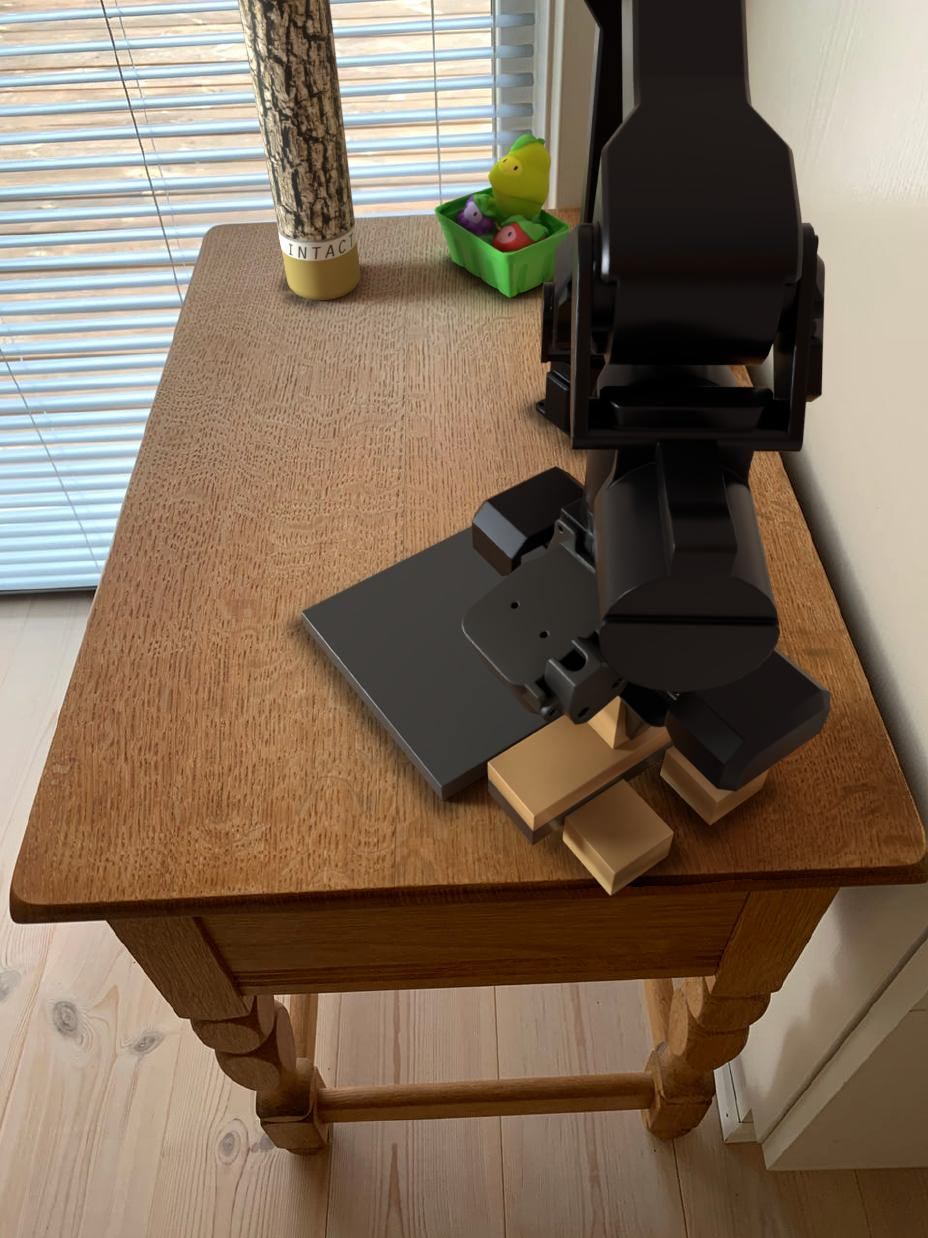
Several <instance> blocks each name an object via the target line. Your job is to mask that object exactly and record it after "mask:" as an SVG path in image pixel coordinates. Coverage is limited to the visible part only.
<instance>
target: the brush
mask: <svg viewBox="0 0 928 1238" xmlns="http://www.w3.org/2000/svg"><path fill="white" fill-rule="evenodd" d="M626 711H627V705H626V704H625V703H624V702H623V701H622V700H621V699H620V698H619V697H618V696H617V697H616V698H615V699H614V700H612V701H611V702H610V703H609V704H608V705H607V706H605V707H604V708H603V709H602V710H601V711H600V712H599V713H597V714H596V715H595V716H594V717H593V718H592V719H590V720H589V721H588V722H586V723H583V724H579V725H575V724H574V723H573V722H572V721H571V720H570V719H569V718H568V717H567V716H566V715H564V716H562V717H560V718H559V719H557V720H556V721H554V722H552V723H551V724H549V725H547V726H546V727H544V728H543V729H541V730H539V731H538V732H536V733H534V734H533V735H531V736H530V737H528V738H526V739H525V740H523V741H521V742H520V743H518V744H517V745H515V746H513V747H512V748H510V749H508V750H507V751H505V752H504V753H502V754H500V755H499V756H497V757H495V758H494V759H492V760H491V761H489V762H488V774H487V786H488V787H487V789H488V790H487V792H488V793H489V795H490V796H491V798H492V799H494V801H495V802H496V803H497V804H498V805H499V807H500V808H501V809H502V810H503V812H504V813H505V814H506V815H507V817H508V818H509V819H510V820H511V821H512V823H513V824H514V825H515V826H516V828H517V829H518V830H519V831H520V832H521V834H522V835H523V836H525V838H526V839H527V841H528V842H529V843H530V845H532V846H535V845H537V844H538V843H539V842H540V841H542V840H544V839H545V838H547V837H548V836H549V835H552V834H553V833H555V832H556V831H557V830H559V829H560V828H561V827H564V822H565V816H567V815H569V814H570V813H572V812H573V811H575V810H576V809H578V808H579V807H581V806H582V805H584V804H585V803H587V802H588V801H590V800H591V799H593V798H594V797H596V796H597V795H599V794H600V793H602V792H603V791H605V790H606V789H608V788H609V787H611V786H612V785H614V784H616V783H617V782H619V781H620V780H622V779H624V780H625V781H626V782H627V783H628V784H629V782H631V781H632V780H634V779H635V778H637V777H638V776H640V775H641V774H643V773H645V772H646V771H647V770H648V769H650V768H652V767H653V766H655V765H656V764H657V763H659V762H661V761H663V759H664V755H665V751H666V750H667V749H668V748H670V747H671V746H673V743H672V740H671V738H670V736H669V734H668V731H667V729H666V727H652V726H651V727H650V728H649V729H648V730H647V731H645V732H644V733H643V734H641V735H640V736H638V737H636V738H635V739H633V740H630V739H629V738H628V737H627V736H626V727H625V720H626Z"/></svg>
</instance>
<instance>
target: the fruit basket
mask: <svg viewBox="0 0 928 1238" xmlns="http://www.w3.org/2000/svg"><path fill="white" fill-rule="evenodd" d="M545 144H546V140H545V139H544V138H542V137H538V138H537V137H535V136H534V135H533V134H530V133H525V134H523V135H521V136H519V137H518V138H517V139H516V140H515V142H514V143H513V144H512V147H510V148H509V152H508V154H505V155H504V156H502V157H501V158H500V159H499V160H498V161H496V162H495V164H494V165H493V166H492V168H491V169H490V171H489V174H488V176H487V178H488V181H489V183H490V186H491V187H487V188H484V189H482V190H479V191H474V192H472V193H469V194H466V195H464V196H461V197H457V198H455V199H452V200H450V201H446V202H444V203H442V204H439V205H438V206H436V207H435V208H434V213H435V216H436V218H437V221H438V223H440V225H441V229H442V232H443V236H444V238H445V242H446V245H447V248H448V250H449V254H450V258H451V260H452V262H454V263H456V264H457V265H459V266H460V267H462V268H465V269H466V270H467V271H468V272H469V273H471V274H472V275H474V276H475V277H477V278H481V280H482V281H483V282H484V283H486V284H487V285H489V286H491V287H492V288H495V289H497V290H498V291H499V292H500V293H501V294H503V295H504V296H506V297H507V298H513V297H515V296H516V295H518V294H521V293H524V292H527V291H529V290H532V289H533V288H536V287H538V286H540V285H541V284H543V282H551V281H553V271H554V255H555V249H556V247H557V246H558V245H559V244H560V243H561V242H562V241H563V240H564V238H565V237H566V236H567V235H568V234H569V233H570V232H571V226H570V225H569V224H568V223H566V222H565V221H563V220H561V219H559V218H558V217H556V216H554V215H552V214H551V213H550V212H547V211H546V210H544V209H543V206H544V205H545V203H546V201H547V199H548V196H549V192H550V170H551V165H552V157H551V155H550V153H549V151H548V149H547V148H546V147H545Z"/></svg>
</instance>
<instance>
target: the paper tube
mask: <svg viewBox="0 0 928 1238" xmlns="http://www.w3.org/2000/svg"><path fill="white" fill-rule="evenodd" d="M237 4H238V10H239V15H240V22H241V27H242V33H243V38H244V45H245V50H246V55H247V61H248V66H249V73H250V78H251V83H252V90H253V96H254V101H255V106H256V111H257V118H258V124H259V129H260V136H261V141H262V146H263V147H262V148H263V152H264V157H265V163H266V169H267V175H268V180H269V186H270V191H271V198H272V204H273V209H274V214H275V220H276V226H277V231H278V237H279V244H280V248H281V253H282V259H283V264H284V270H285V276H286V281H287V282H286V283H287V284H288V287H289V288H290V289H291V290H292V291H293V293H294V294H296V295H297V296H300V297H302V298H304V299H308V300H313V301H328V300H333V299H337V298H341V297H343V296H345V295H347V294H349V293H350V292H352V291H353V290H355V288H356V287H357V286H358V285H359V282H360V280H361V267H360V259H359V249H358V248H359V247H358V242H357V241H358V238H357V237H358V236H357V230H356V229H357V228H356V221H355V212H354V203H353V193H352V185H351V176H350V168H349V167H350V166H349V159H348V149H347V142H346V133H345V124H344V114H343V106H342V105H343V104H342V98H341V97H342V96H341V88H340V80H339V72H338V63H337V62H338V61H337V54H336V53H337V52H336V45H335V36H334V27H333V19H332V10H331V9H332V8H331V1H330V0H237Z"/></svg>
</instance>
